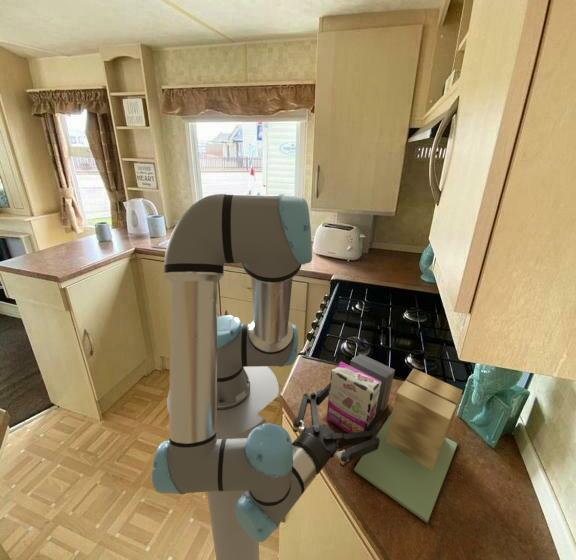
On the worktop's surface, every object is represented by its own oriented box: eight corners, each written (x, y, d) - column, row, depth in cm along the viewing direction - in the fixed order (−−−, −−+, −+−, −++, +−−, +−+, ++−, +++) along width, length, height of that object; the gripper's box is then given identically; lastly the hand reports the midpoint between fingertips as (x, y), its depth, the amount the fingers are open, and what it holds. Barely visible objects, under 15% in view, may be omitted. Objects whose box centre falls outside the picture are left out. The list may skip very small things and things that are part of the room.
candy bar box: (373, 430, 79) (383, 381, 72) (363, 444, 76) (373, 393, 69) (335, 407, 86) (341, 360, 79) (325, 419, 82) (330, 370, 75)
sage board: (353, 470, 70) (354, 468, 69) (393, 410, 85) (394, 408, 85) (427, 523, 61) (428, 521, 60) (456, 445, 76) (457, 443, 76)
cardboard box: (385, 442, 75) (396, 392, 69) (401, 415, 83) (413, 368, 76) (432, 471, 69) (450, 419, 62) (445, 439, 76) (462, 390, 70)
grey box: (345, 399, 88) (350, 360, 82) (354, 388, 92) (360, 350, 86) (378, 419, 83) (386, 378, 77) (387, 406, 86) (395, 366, 81)
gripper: (259, 437, 72) (313, 386, 87) (355, 516, 58) (400, 439, 72) (258, 413, 69) (315, 365, 84) (360, 490, 54) (406, 416, 69)
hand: (355, 399), depth 78 cm, fingers open, 13 cm apart
